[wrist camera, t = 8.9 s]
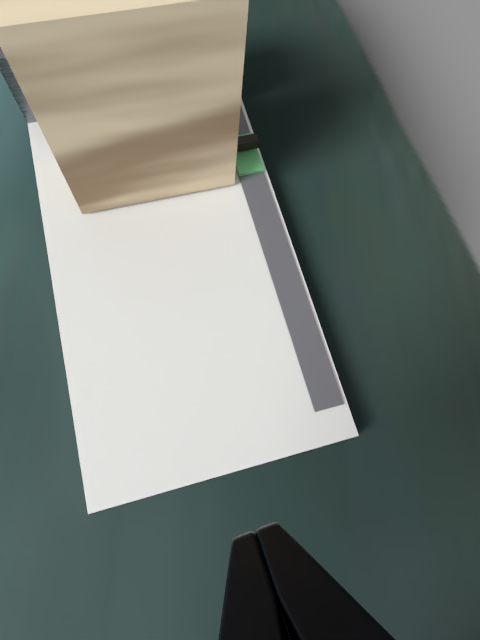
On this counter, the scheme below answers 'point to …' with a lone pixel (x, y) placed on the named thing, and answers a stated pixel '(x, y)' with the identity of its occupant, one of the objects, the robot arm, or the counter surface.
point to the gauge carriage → (133, 92)
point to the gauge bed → (185, 334)
